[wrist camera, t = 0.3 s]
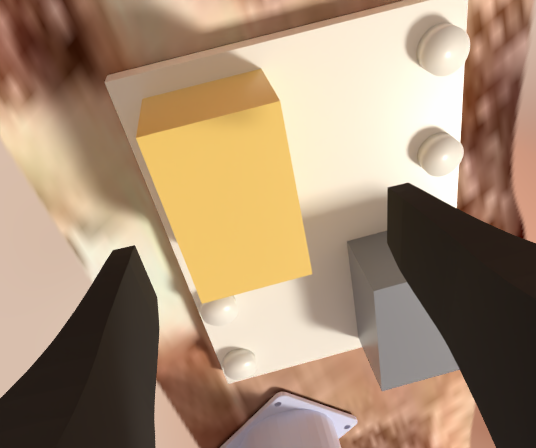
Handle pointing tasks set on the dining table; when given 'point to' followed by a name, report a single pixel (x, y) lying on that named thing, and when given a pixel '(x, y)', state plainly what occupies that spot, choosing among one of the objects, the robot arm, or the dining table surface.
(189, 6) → the dining table surface
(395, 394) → the dining table surface
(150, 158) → the top brick
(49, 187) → the dining table surface
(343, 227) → the baseplate
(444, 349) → the base brick
